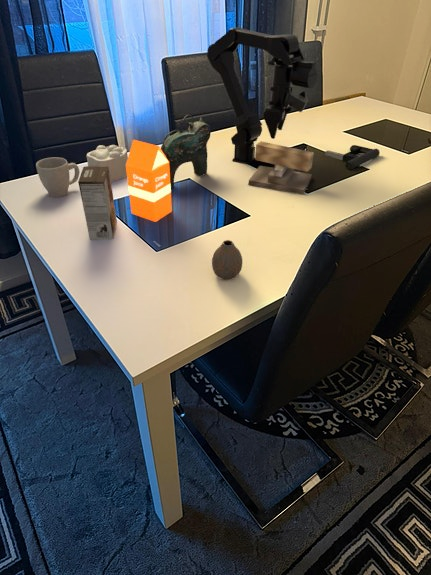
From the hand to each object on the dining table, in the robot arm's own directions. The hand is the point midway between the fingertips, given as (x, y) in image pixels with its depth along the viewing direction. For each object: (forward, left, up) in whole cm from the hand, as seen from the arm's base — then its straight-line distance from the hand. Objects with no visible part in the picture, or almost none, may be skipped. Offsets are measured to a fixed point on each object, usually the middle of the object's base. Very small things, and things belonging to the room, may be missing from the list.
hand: (276, 134), depth 138 cm
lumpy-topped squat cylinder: (-49, -25, -12) cm, 57 cm away
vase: (+6, -64, -12) cm, 65 cm away
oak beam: (+5, -9, -6) cm, 12 cm away
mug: (-55, -43, -12) cm, 71 cm away
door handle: (+24, +21, -13) cm, 34 cm away
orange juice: (-24, -44, -12) cm, 52 cm away
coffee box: (-31, -58, -12) cm, 67 cm away
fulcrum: (+5, -9, -12) cm, 16 cm away
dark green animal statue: (-24, -20, -12) cm, 34 cm away
